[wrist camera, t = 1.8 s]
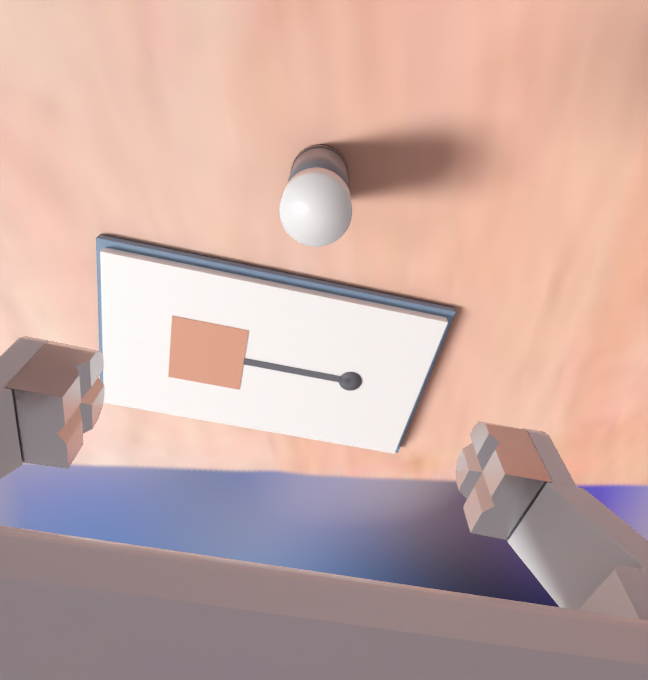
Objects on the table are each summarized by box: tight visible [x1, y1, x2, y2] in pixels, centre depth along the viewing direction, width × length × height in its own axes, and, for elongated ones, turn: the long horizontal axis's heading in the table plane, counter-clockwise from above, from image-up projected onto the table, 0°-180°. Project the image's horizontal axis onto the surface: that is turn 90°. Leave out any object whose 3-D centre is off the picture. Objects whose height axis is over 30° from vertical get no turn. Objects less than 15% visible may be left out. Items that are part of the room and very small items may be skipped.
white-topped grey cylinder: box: [279, 144, 352, 247], centre depth 25 cm, size 3×3×7 cm
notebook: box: [96, 234, 456, 454], centre depth 34 cm, size 23×13×1 cm, turn 78°
